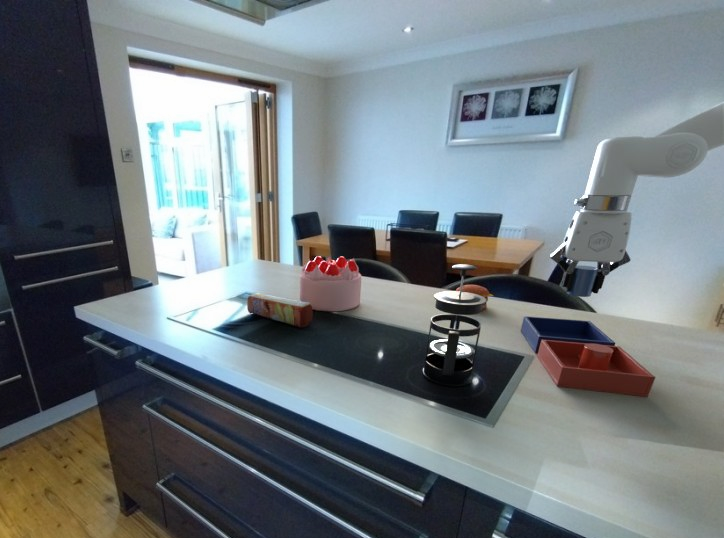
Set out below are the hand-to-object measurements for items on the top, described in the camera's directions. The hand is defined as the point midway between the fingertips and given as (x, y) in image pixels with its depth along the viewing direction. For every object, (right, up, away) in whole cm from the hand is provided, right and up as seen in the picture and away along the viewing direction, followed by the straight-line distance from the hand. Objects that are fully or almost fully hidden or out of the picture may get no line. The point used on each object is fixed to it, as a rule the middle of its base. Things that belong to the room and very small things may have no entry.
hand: (579, 290), depth 86 cm
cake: (-50, +1, +42) cm, 65 cm away
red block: (-4, -17, -7) cm, 19 cm away
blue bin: (+1, -12, +7) cm, 14 cm away
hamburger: (-7, -1, +35) cm, 35 cm away
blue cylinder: (+1, 0, +2) cm, 2 cm away
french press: (-33, -19, -7) cm, 38 cm away
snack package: (-67, -5, +28) cm, 73 cm away
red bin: (-4, -18, -7) cm, 20 cm away
